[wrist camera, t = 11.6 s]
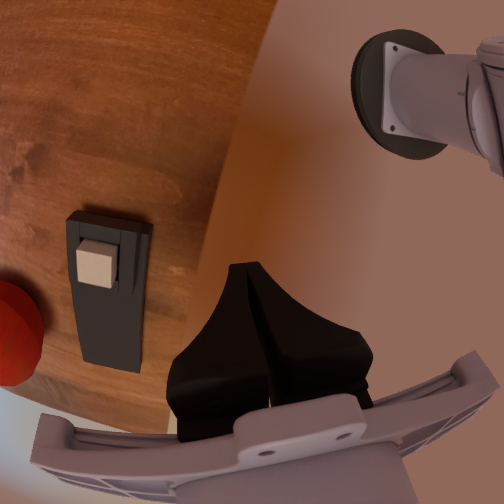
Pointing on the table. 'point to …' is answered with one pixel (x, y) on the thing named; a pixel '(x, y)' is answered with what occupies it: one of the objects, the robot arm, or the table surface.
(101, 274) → the switch
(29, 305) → the apple
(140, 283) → the power strip
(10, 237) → the table surface
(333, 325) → the robot arm
